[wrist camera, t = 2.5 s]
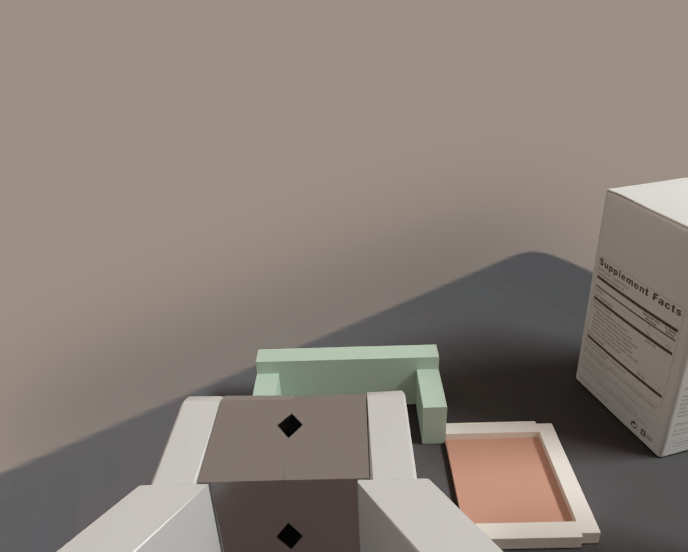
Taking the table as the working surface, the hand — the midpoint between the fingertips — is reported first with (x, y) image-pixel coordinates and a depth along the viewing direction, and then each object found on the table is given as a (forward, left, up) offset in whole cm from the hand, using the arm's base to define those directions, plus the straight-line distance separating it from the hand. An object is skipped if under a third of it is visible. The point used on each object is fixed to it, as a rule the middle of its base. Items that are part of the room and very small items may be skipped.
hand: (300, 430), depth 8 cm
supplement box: (+12, +33, -22) cm, 41 cm away
